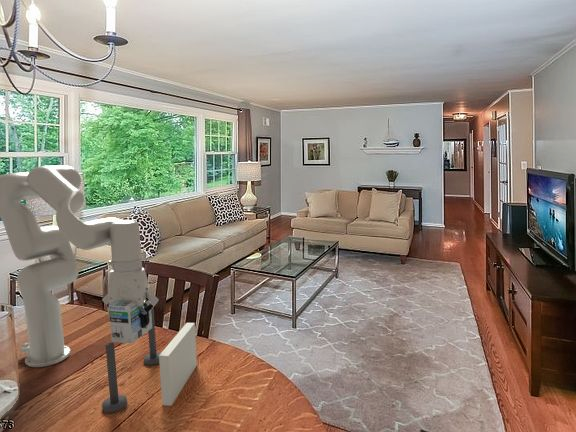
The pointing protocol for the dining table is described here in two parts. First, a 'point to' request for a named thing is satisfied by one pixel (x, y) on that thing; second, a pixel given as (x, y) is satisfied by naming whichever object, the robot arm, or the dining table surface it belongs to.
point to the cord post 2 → (152, 346)
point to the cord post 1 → (113, 384)
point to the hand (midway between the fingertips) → (132, 325)
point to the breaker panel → (177, 363)
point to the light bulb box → (127, 322)
